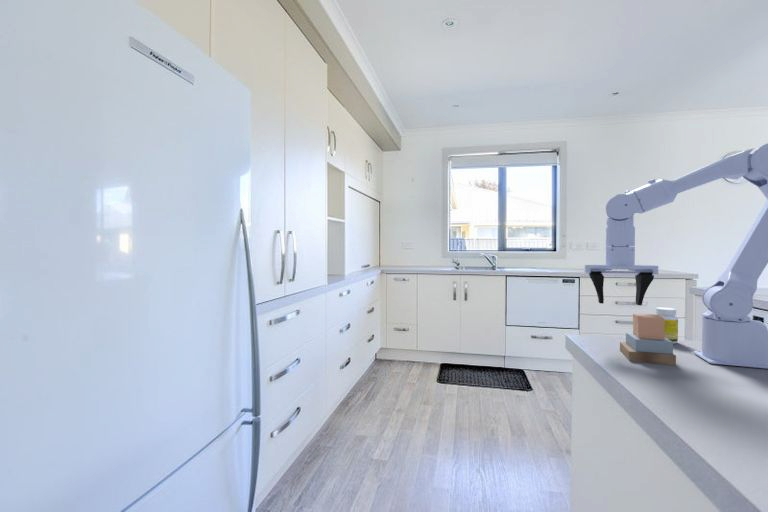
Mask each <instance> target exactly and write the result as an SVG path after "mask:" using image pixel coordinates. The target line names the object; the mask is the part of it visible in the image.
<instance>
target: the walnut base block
mask: <svg viewBox="0 0 768 512" xmlns="http://www.w3.org/2000/svg"><path fill="white" fill-rule="evenodd" d="M619 352H621V354H622V353H623V354H622V355H623V356H624V357H625V359H627V360H628V362H636V361H637V363H638V362H639V363H646V364H648V363H649V364H658V365H667V366H669V365H670V366H677V355H676V354H674V353H673V354H664V353H652V352H639V351H635V350H633V349H632V348H631V347H630V346H628V345H627V344H626V341H620V342H619Z"/></svg>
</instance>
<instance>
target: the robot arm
mask: <svg viewBox="0 0 768 512" xmlns="http://www.w3.org/2000/svg"><path fill="white" fill-rule="evenodd" d="M754 149H755V148H754V147H753V148H750V149H745V150H744V151H740V152H738V153H735V154H732V155H729V156H727V157H723V158H722V159H719V160H717V161H714V162H712V163H709V164H708V165H706V166H705V165H704V166H703V167H700V168H698V169H696V170H694V171H691V172H689V173H687V174H684V175H682V176H680V177H677V178H675V179H672V180H669V179H665V178H660V179H655V178H652V179H650V180H648V181H647V184H645V185H643V186H640V187H637V188H636V189H634V190H630V189H627V190H625V191H624V193H620V194H618V193H617V194H616V195H615V196H613V197H612V198H610V199H609V200H608V201H607V203H606V205H605V213H606V216H607V220H606V226H607V227H606V229H605V264H584V273H585V274H588V275H589V278H590V280H591V282H592V284H593V286H594V288H595V291H596V295H597V301H598V303H599V304H604V303H605V298H604V281H605V276H604V274H634V276H635V277H634V278H635V304H636V305H637V306H643V300H644V297H645V294H646V293H647V290H648V288H649V287H650V285H651V283H652V282H653V281H654V279H655V275H659V265H647V264H646V265H644V264H643V265H642V264H635V263H636V262H635V260H636V259H635V258H636V255H635V251H636V244H635V243H636V227H635V225H634V221H635V219H634V215H635V214H639V215H640V214H643V213H646V212H650V211H652V210H655V209H657V208H660V207H663V206H666V205H668V204H671V203H673V202H674V201H675V200H676V198H677V195H679V194H681V193H683V192H686V191H689V190H691V189H694V188H695V189H696V188H697V187H701V186H703V185H707V184H709V183H711V182H714V181H717V180H719V179H729V180H738V179H740V178H743V179H745V180H746V181H747V182H749V183H751V184H752V185H755V186H756V187H757V188H758V189H759V190H760V192H761V193H762V195H764V197H765V198H766V200H765V203H764V204H763V206H762V208H761V210H760V211H759V213H758V214H757V216H756V218H755V220H754V221H753V223H752V224H751V227H750V229H749V230H748V232H747V233H746V235H745V237H744V239H743V240H742V242H741V244H740V245H739V247H738V249H737V251H736V252H735V253H734V256H733V257H732V259H731V260H730V261H729V262H730V263H729V264H728V266H727V267H726V269H725V270H724V271H723V272H722V274H720V275H719V277H718V278H717V279H716V282H715V283H713V284H712V285H710V286H709V287H707V288H706V289H705V290H704V291H703V293H702V296H701V298H702V303H703V305H704V306H705V307H706V308H707V309H706V311H704V313H702V315H701V316H702V318H701V319H702V320H701V323H702V324H701V325H702V326H701V350H700V351H699V350H693V352H692V353H693V354H695V355H696V356H698V357H700V358H701V359H702V360H704V361H705V362H707V363H709V364H713V365H725V366H735V367H736V366H737V367H746V368H755V369H756V368H757V369H759V368H760V369H768V327H767V326H766V324H765V323H764V322H762V321H761V320H757V319H756V320H754V319H751V316H750V317H749V315H750V314H751V312H752V311H753V308H754V302H753V298H754V295H755V294H756V292H757V288H758V280H759V278H760V277H761V275H762V274H763V272H764V271H765V269H766V267H767V265H768V142H767V143H765V144H763V145H761V146H759V147H758V148H757V149H755V151H754V152H752V151H753V150H754ZM618 270H619V271H618Z"/></svg>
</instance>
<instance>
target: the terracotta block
mask: <svg viewBox="0 0 768 512" xmlns="http://www.w3.org/2000/svg"><path fill="white" fill-rule="evenodd" d="M632 333H633V334H634V335H635V336H636V337H638V338H642V339H657V340H665V338H664V318H663V317H661V316H659V315H657V314H650V313H632Z"/></svg>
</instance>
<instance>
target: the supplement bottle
mask: <svg viewBox="0 0 768 512" xmlns="http://www.w3.org/2000/svg"><path fill="white" fill-rule="evenodd" d="M655 313H656V315H659V316H661V317H663V318H664V337H665V338H667V339H669V340H671V341H672V342H673V345H674V344H678V342H677V341H678V339H679V337H678V336H679V334H678V333H679V330H678V329H679V320H678V319H679V318H678V317H677V316H676V315H677V309H676V308H673V307H664V306H663V307H662V306H661V307H660V306H659V307H658V306H657V307H655Z"/></svg>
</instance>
